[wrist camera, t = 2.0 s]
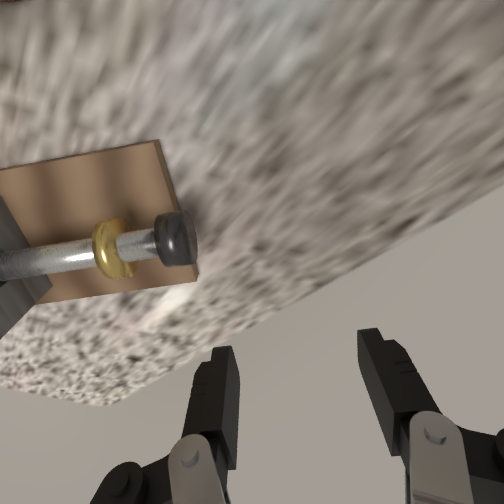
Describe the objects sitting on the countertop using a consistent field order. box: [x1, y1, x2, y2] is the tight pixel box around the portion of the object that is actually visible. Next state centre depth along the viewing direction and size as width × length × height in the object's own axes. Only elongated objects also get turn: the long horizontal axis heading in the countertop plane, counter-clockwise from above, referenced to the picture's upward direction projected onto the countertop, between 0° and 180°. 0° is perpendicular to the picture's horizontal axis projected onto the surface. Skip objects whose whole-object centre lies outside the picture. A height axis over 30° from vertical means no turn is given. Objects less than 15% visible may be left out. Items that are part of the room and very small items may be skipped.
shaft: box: [0, 210, 197, 281], centre depth 26 cm, size 20×5×5 cm, turn 100°
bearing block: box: [0, 140, 199, 339], centre depth 27 cm, size 22×14×10 cm, turn 100°
